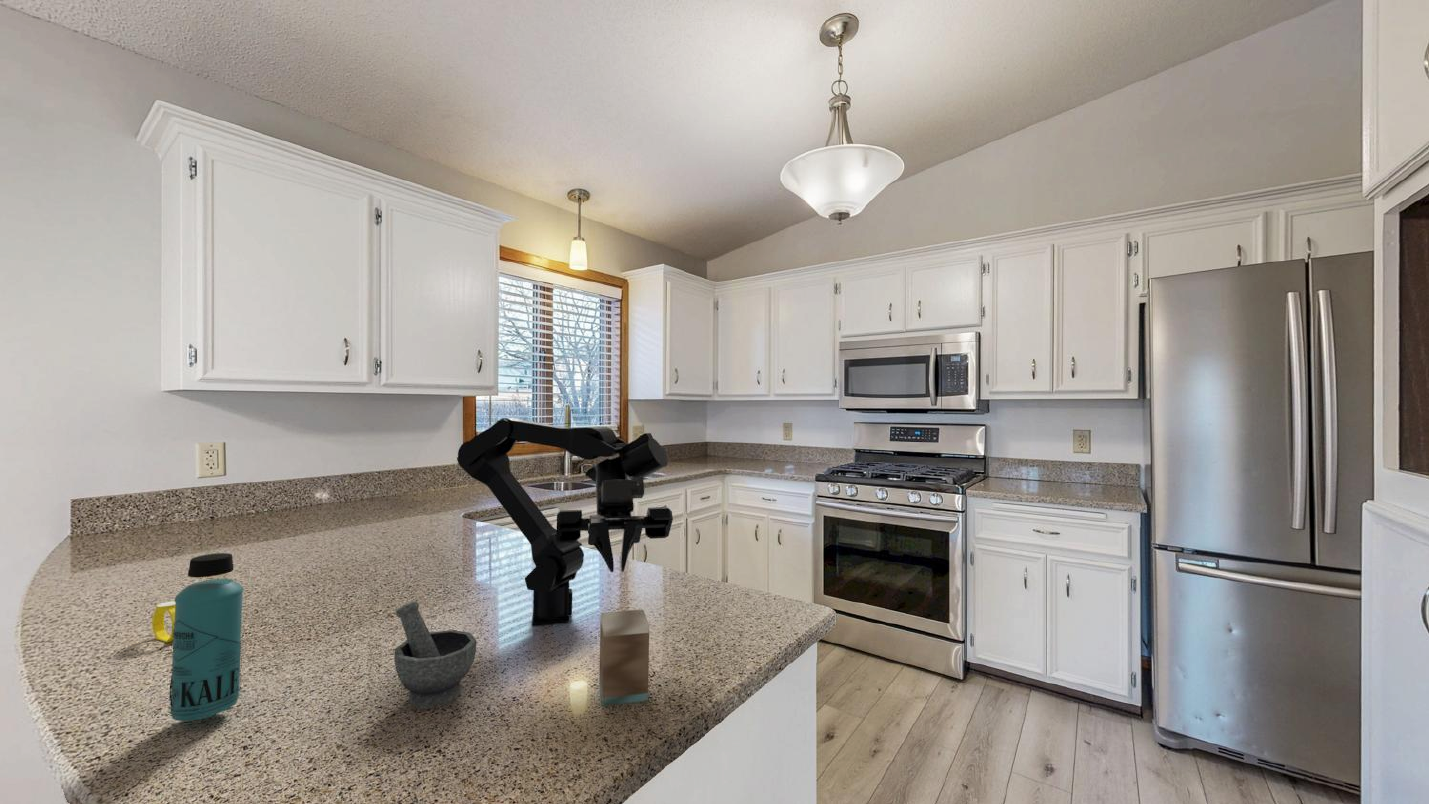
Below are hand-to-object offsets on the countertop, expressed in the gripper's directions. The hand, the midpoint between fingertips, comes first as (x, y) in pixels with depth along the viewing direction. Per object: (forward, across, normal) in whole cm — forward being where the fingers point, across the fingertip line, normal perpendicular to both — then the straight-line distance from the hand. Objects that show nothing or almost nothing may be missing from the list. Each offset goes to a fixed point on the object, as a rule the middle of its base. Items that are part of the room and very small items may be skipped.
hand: (617, 570), depth 86 cm
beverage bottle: (+14, -50, +6) cm, 52 cm away
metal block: (+17, 0, +2) cm, 17 cm away
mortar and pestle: (+14, -25, +6) cm, 29 cm away
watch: (-7, -70, +26) cm, 75 cm away
